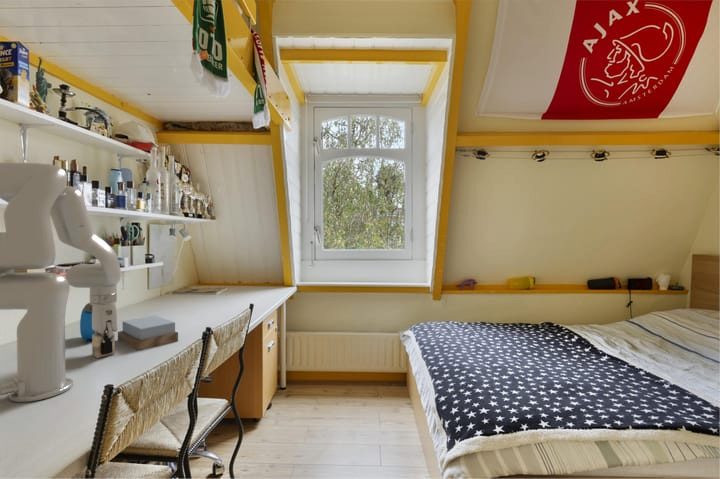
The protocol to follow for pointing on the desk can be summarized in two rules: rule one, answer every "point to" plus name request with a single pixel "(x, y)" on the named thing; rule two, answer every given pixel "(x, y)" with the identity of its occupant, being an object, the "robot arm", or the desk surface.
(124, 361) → the desk surface
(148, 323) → the slate slab
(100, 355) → the beech block
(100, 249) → the robot arm
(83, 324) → the alarm clock
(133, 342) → the walnut slab
